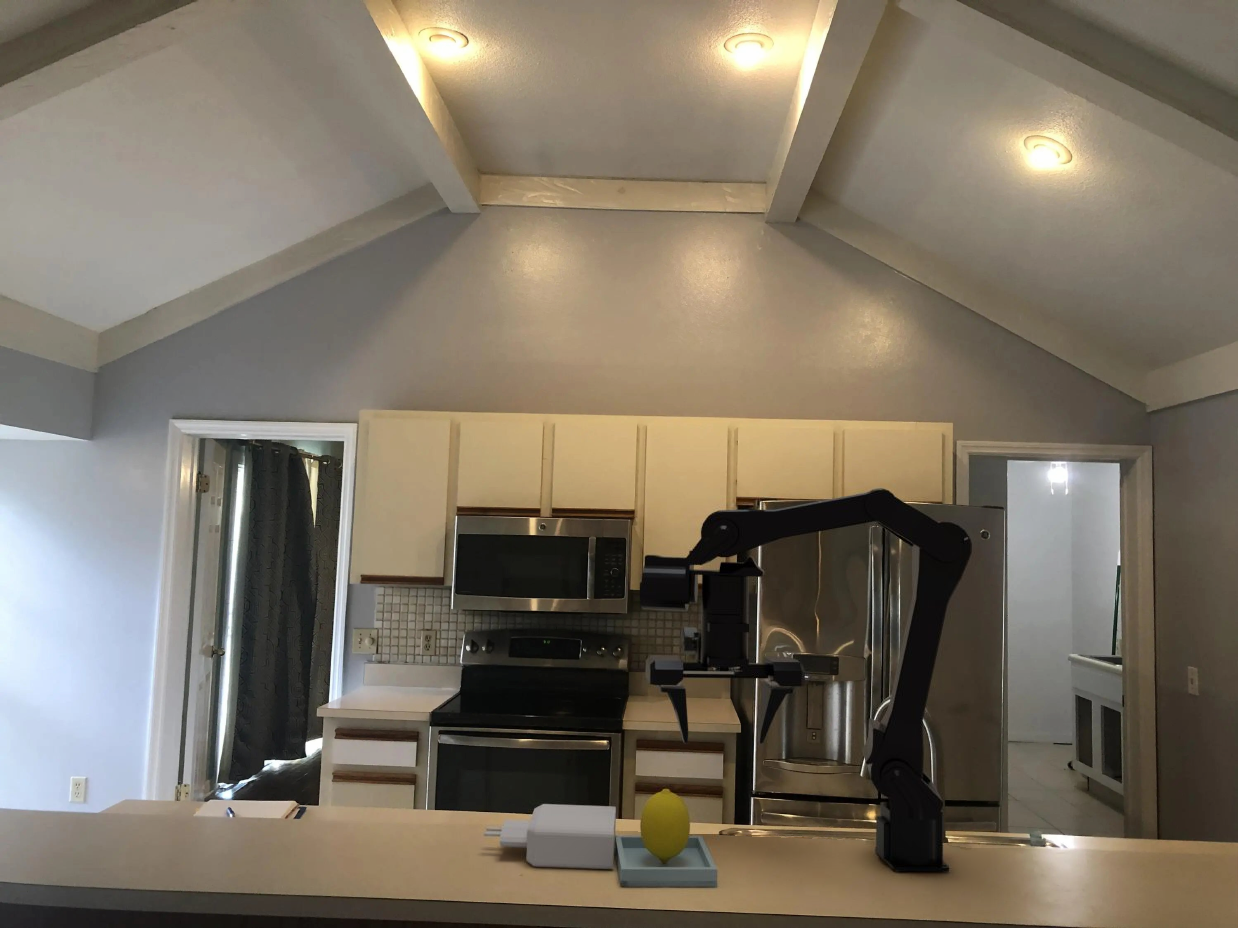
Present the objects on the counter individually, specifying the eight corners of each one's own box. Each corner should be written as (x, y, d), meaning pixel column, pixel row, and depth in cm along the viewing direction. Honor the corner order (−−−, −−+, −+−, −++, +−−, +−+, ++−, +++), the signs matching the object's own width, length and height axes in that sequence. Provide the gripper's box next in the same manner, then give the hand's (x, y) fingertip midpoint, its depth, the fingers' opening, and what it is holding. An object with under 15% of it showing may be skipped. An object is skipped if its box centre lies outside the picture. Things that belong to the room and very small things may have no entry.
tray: (701, 851, 105) (702, 835, 105) (717, 886, 95) (717, 869, 95) (614, 851, 104) (615, 835, 104) (620, 886, 94) (621, 869, 94)
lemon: (689, 854, 102) (691, 783, 102) (688, 873, 96) (690, 797, 97) (641, 851, 102) (643, 780, 103) (637, 870, 97) (639, 794, 97)
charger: (490, 838, 108) (615, 843, 107) (477, 868, 98) (613, 873, 98) (492, 798, 108) (616, 803, 108) (478, 824, 99) (614, 829, 98)
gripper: (782, 607, 118) (781, 727, 117) (642, 605, 117) (639, 727, 116) (806, 616, 107) (805, 749, 106) (651, 614, 106) (649, 748, 105)
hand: (722, 742), depth 108 cm, fingers open, 9 cm apart
